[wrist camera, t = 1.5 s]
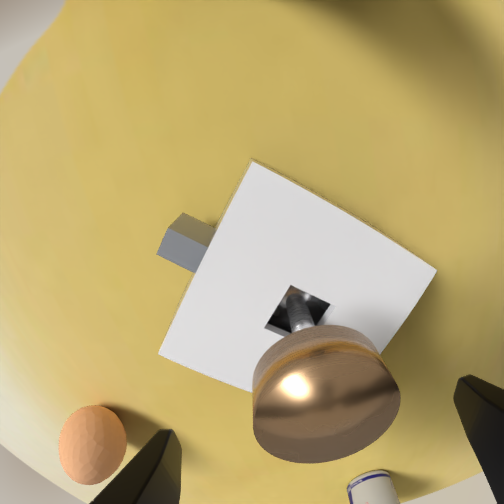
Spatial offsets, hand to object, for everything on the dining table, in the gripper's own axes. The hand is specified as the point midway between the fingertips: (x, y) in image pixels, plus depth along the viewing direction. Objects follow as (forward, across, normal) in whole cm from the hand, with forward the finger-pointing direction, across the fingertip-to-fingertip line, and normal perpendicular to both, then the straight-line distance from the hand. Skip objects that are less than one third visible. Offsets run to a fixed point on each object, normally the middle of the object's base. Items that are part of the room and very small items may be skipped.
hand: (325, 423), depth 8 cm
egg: (+13, +17, +12) cm, 25 cm away
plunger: (+8, 0, 0) cm, 9 cm away
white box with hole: (+13, 0, 0) cm, 13 cm away
